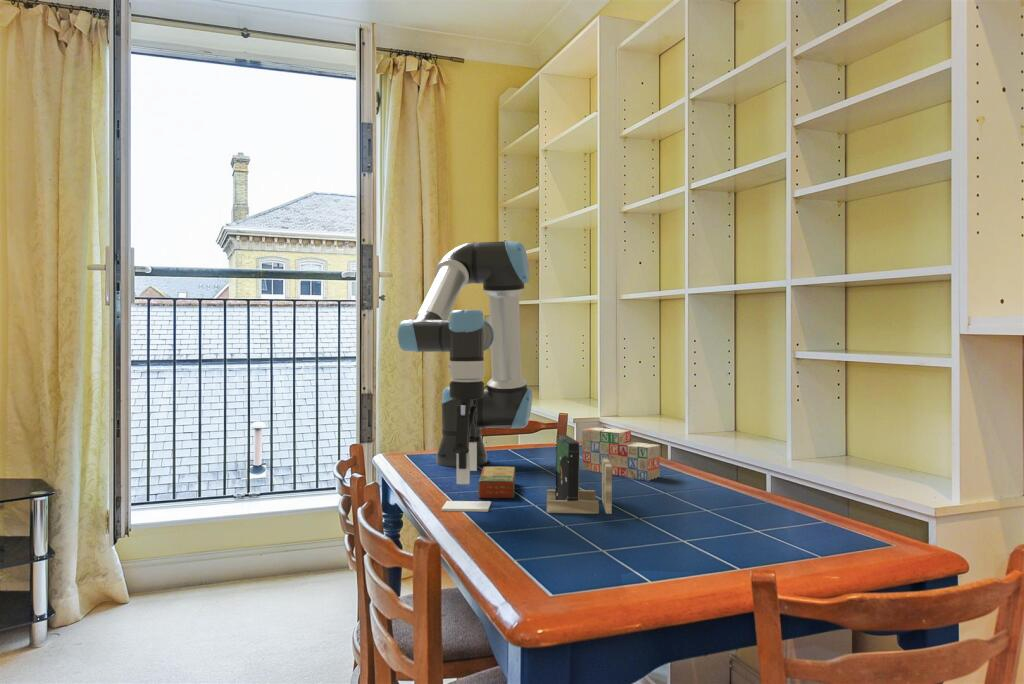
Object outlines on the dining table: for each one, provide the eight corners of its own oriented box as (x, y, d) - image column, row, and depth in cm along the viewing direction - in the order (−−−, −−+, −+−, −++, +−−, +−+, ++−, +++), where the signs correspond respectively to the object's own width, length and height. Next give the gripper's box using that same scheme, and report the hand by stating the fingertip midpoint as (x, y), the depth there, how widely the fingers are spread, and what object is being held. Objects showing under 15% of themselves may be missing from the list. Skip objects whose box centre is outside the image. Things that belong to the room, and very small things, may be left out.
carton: (515, 482, 172) (515, 465, 172) (514, 498, 156) (514, 480, 156) (482, 482, 172) (482, 465, 172) (478, 498, 156) (478, 480, 156)
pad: (446, 503, 153) (446, 500, 153) (490, 504, 152) (490, 501, 152) (441, 511, 146) (441, 508, 146) (488, 512, 145) (488, 509, 145)
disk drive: (580, 511, 145) (580, 441, 145) (567, 511, 144) (567, 441, 144) (566, 499, 155) (567, 434, 155) (555, 500, 154) (555, 435, 154)
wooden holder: (547, 500, 155) (547, 456, 155) (607, 501, 155) (607, 457, 155) (546, 513, 144) (546, 465, 144) (611, 513, 143) (611, 466, 143)
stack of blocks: (660, 480, 179) (660, 433, 179) (647, 483, 175) (647, 435, 175) (595, 469, 194) (595, 426, 194) (581, 472, 190) (581, 428, 190)
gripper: (457, 376, 161) (458, 465, 162) (440, 384, 137) (441, 489, 137) (489, 376, 161) (489, 465, 161) (477, 384, 136) (478, 490, 136)
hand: (467, 477), depth 149 cm, fingers open, 13 cm apart
